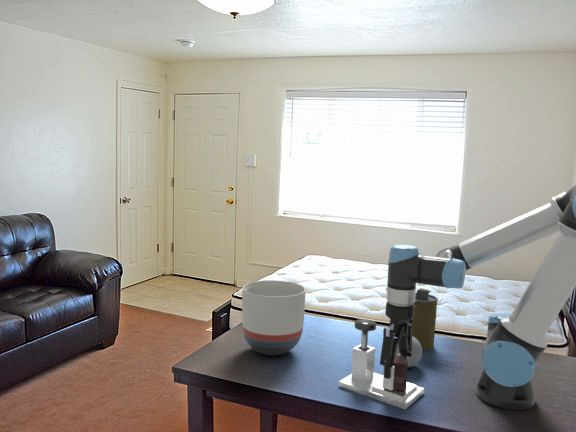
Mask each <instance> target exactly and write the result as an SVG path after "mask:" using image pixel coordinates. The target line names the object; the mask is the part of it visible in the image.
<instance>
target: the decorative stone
mask: <svg viewBox="0 0 576 432" xmlns="http://www.w3.org/2000/svg"><path fill="white" fill-rule="evenodd" d="M409 353H412V356H411V357H409V356H407V357H408V367H407V369H408V368H412V367H414V366H416V365H418V363H419V362H420V361H421V359H422V356H423V351H422V347H421V344H420V343H419V341H418V340H417V339H416V338H415V337H413V336H412V352H409ZM396 355H401V354H400V352H399V345H398V346H397V350H396Z"/></svg>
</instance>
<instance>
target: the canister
mask: <svg viewBox="0 0 576 432" xmlns="http://www.w3.org/2000/svg"><path fill="white" fill-rule="evenodd" d="M431 292H432V291H431V290H430V289H427V288H426V289H425V288H421V287H420V288H418V289H416V294H415V303H413V304H414V317H413V318H412V319H413V325H412V336H413V337H415V338H416V339H417V340H418V341H419V343H420V344H421V347H422V352H430V351H432V350H434V349H435V334H436V321H437V310H438V309H437V308H438V300H439V299H438V297H437V296H435V295H432V294H430V293H431Z"/></svg>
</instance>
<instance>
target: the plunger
mask: <svg viewBox="0 0 576 432" xmlns="http://www.w3.org/2000/svg"><path fill="white" fill-rule="evenodd" d="M354 328H355V329H356V330H359V331H361V339H360V341H361V342H360V344H361V350H364V351H367V346H369V345H368V343H369V342H368V341H369V332H373V331H375V330H377V322H376V321H374V320H371V319H366V318H365V319H363V318H362V319H361V318H359V319H356V320H355V321H354Z"/></svg>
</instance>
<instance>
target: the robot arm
mask: <svg viewBox="0 0 576 432" xmlns="http://www.w3.org/2000/svg"><path fill="white" fill-rule="evenodd" d="M556 233H558V235H557V237H556V238H555V240H554V242H553V243H552V245H551V247H550V248H549V250H548V251H547V254H546V255H545V257H544V259H543V260H542V262H541V264H540V266H539V267H538V269H537V270H536V272H535V274H534V275H533V277H532V279H531V281H530V282H529V284H528V286H527V287H526V289H525V291H524V293H523V294H522V296H521V298H520V299H519V301H518V303H517V304H516V306H515V307H514V309H513V311H512V313H511V314H510V313H498V312H497V313H492V314H490V315H489V316H488V320H487V322H486V323H487V324H486V325H487V330H486V339H485V343H484V346H483V347H484V348H483V350H482V352H481V362H482V367H483V368H482V369H481V370H482V371H481V373H480V374H479V376H478V379H477V381H476V383H475V395H476V396H477V397H478V398H479V399H480V400H482V401H484V402H485V403H487V404H490V405H491V406H493V407H497V408H501V409H504V410H511V411H512V410H513V411H525V410H530V409H532V408H533V407H534V406H535V405H536V392H535V388H534V385H533V380H532V378H533V377H534V374H535V372H536V364H537V363H538V361H539V359H540V358H541V356H542V355H543V353H544V351H545V350H546V349H547V346H548V342H547V339H546V334H547V333H548V331H549V330H550V328H551V327H552V325H553V323H554V322H555V320H556V318H557V317H558V315H559V313H560V312H561V311H562V309H563V307H564V306H565V304H566V303H567V300H568V299H569V297H570V296H571V295H572V293H573V291H574V289H576V184H574V185H573V186H572V187H570V188H568V189H566V190H564V191H563V192H561V193H559V194H557V195H554V196H552V197H551V199H550V201H549V203H547V204H545V205H542V206H540V207H537V208H535V209H534V210H533V209H532V210H531V211H529V212H527V213H525V214H522V215H519V216H518V217H515V218H513V219H511V220H508V221H507V222H504V223H502V224H499V225H497V226H495V227H493V228H490V229H489V230H486V231H484V232H482V233H479V234H478V235H475V236H473V237H471V238H468V239H466V240H464V241H462V242H459V243H458V244H455V245H452V246H451V247H445V248H443V249H441V250H440V251H439V252H438V253H437V254H436V255H435V256H432V255H422V254H420V252H419V248H418V247H417V246H415V245H410V244H394V245H392V246H391V247H390V250H389V254H388V255H389V256H388V257H389V258H388V261H387V263H388V266H387V268H388V269H387V283H386V284H387V287H386V288H385V291H386V302H385V313H384V314H385V316H386V317H387V318H388V319H389V323H388V327H387V328H386V327H384V328H383V330H382V332H383V335H382V336H383V337H382V344H381V345H382V346H381V351H380V353H381V354H380V359H379V365H381V366H383V374H382V375H383V388H385V389H388V390H391V391H392V390H393V383H394V368H395V366H393V363H394V359H395V355H396V350H397V346H398V345H399V352H400V354H401V356H409V357H411V356H412V353H409V352H412V325H413V319H412V318H413V317H414V304H413V303H415V294H416V293H417V286H416V285H417V284H419V285H420V284H421V285H427V286H433V287H434V286H435V287H439V288H446V289H462V288H463V287H464V284H465V279H466V271H468V270H470V269H472V268H475V267H477V266H480V265H482V264H484V263H487V262H490V261H492V260H494V259H497V258H499V257H501V256H504V255H506V254H508V253H511V252H514V251H515V250H518V249H520V248H524V247H526V246H528V245H531V244H533V243H535V242H537V241H540V240H543V239H545V238H547V237H549V236H552V235H555V234H556ZM407 361H408V357H407Z"/></svg>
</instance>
